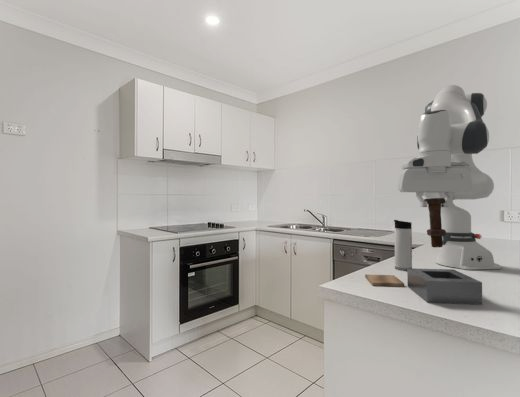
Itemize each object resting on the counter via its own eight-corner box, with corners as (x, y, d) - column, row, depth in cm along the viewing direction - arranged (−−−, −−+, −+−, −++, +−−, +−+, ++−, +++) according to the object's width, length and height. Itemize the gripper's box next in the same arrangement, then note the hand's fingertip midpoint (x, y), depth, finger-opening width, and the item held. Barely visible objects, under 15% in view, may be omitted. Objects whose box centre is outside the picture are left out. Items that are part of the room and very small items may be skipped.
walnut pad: (393, 278, 102) (393, 275, 102) (404, 286, 93) (404, 283, 93) (365, 277, 104) (365, 274, 104) (372, 285, 94) (372, 282, 94)
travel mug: (390, 267, 118) (390, 219, 118) (405, 266, 119) (405, 219, 119) (399, 271, 112) (399, 220, 112) (415, 270, 112) (415, 220, 112)
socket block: (453, 288, 91) (453, 269, 91) (482, 304, 77) (482, 282, 77) (407, 286, 92) (407, 268, 92) (427, 302, 79) (426, 280, 79)
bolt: (451, 248, 84) (447, 197, 85) (432, 248, 85) (429, 198, 85) (441, 245, 90) (438, 198, 90) (424, 246, 90) (421, 199, 91)
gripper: (464, 163, 89) (464, 207, 89) (396, 164, 92) (396, 206, 92) (477, 160, 83) (477, 207, 83) (403, 161, 86) (403, 207, 86)
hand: (434, 207), depth 87 cm, fingers closed on bolt, 5 cm apart
